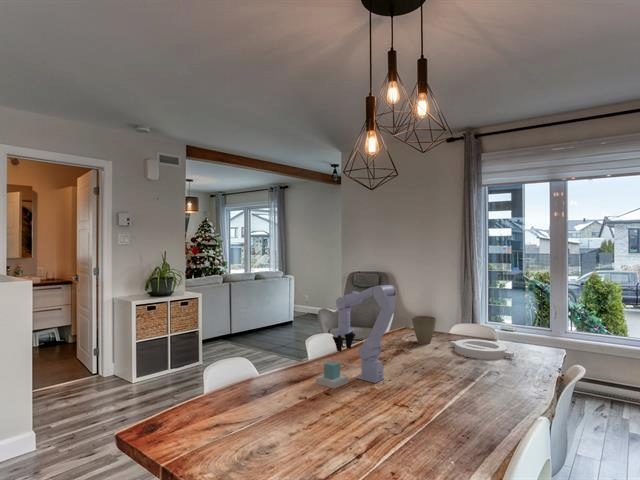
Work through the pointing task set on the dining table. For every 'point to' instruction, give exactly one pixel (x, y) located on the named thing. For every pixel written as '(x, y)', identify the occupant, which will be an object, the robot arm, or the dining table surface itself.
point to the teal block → (331, 370)
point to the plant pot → (424, 328)
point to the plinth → (332, 381)
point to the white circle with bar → (481, 349)
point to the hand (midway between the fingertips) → (343, 349)
